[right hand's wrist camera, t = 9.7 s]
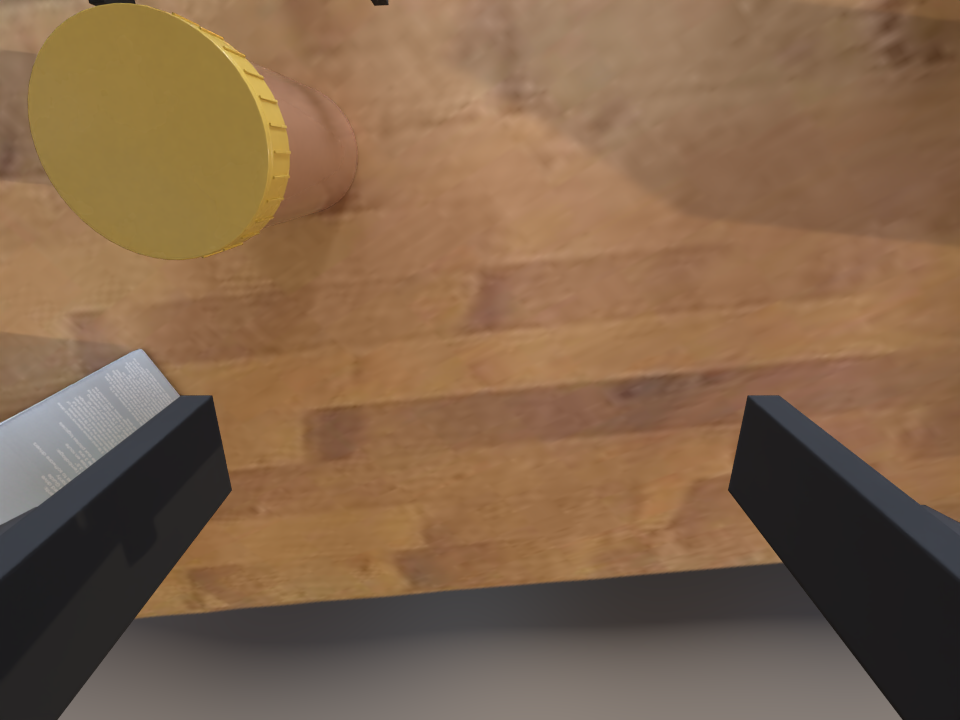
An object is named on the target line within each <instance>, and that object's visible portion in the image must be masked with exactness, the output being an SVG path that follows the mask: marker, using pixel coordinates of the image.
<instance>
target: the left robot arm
mask: <svg viewBox="0 0 960 720" xmlns="http://www.w3.org/2000/svg"><path fill="white" fill-rule="evenodd" d="M371 1H372V3H373V4H374V5H375V6H378V5H388V0H371ZM89 3H90V4H93V5H95V6H98V5H105V4H112V3H132V4H135V0H89Z"/></svg>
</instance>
